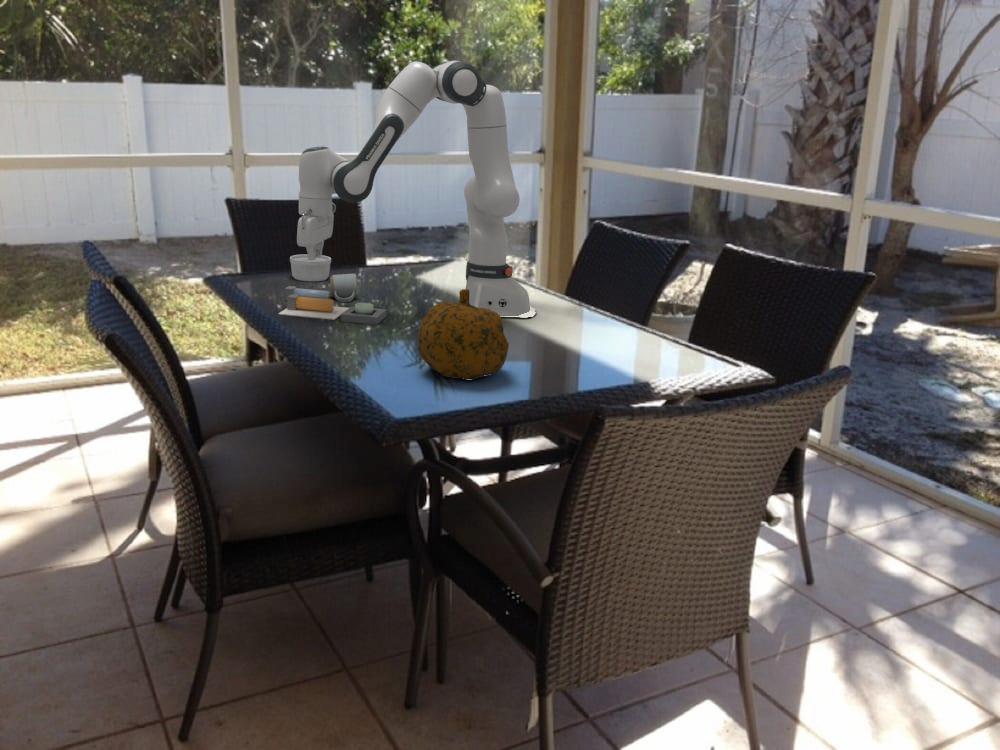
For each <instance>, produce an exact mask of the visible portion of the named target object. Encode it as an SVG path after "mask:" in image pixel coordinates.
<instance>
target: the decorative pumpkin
mask: <svg viewBox="0 0 1000 750" xmlns="http://www.w3.org/2000/svg"><path fill="white" fill-rule="evenodd" d="M458 294H459V302H439V303H436V304H435V305H433V306H432V307H431V308H430V310H429V311H428V312H427V314H426V315H425V316H424V317H423V319H422V321H421V323H420V327H419V331H418V340H417V341H418V342H417V343H418V345H417V349H418V352H419V354H420V357H421V358H422V360H423V361H424V362H425V364H426V365H428V366H429V368H432V369H433V370H434V371H436V372H438V373H440V375H442V376H443V377H447V378H449V377H457V378H456V379H461V378H464V379H474V380H476V379H478V378H482V377H481V376H484V375H489V374H492V375H494V374H496V373H498V372H499V371H500V370H501V369H502V368H503V366H504V365H505V363H506V360H507V356H508V352H509V351H508V350H509V345H510V343H509V342H508V339H507V337H506V335H505V333H504V325H503V320H502V318H501V317H500V315H499V314H498V313H497V312H494V311H491V310H489V309H486V308H478V307H475V306H472V305H470V303H469V295H470V294H469V290H468V289H465V288H463V289H461V290H459V293H458ZM475 378H476V379H475ZM464 379H463V380H464Z"/></svg>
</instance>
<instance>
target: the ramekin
mask: <svg viewBox="0 0 1000 750" xmlns="http://www.w3.org/2000/svg"><path fill="white" fill-rule="evenodd" d="M289 262H290V268H291V275H292V277H293V278H294V279H295V280H296V281H301V282H323V281H327V279H328V278H329V276H330V270H331V263H332V258H331V257H330V256H327V255H324V254H322V256H321V257H316V259H315V260H308V253H307V254H295V255H291V256H290V257H289Z"/></svg>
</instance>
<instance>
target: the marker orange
mask: <svg viewBox="0 0 1000 750" xmlns="http://www.w3.org/2000/svg"><path fill="white" fill-rule="evenodd" d="M334 306H335V302H334V299H319V298H308V297H300V295H294V294H291V295H290V296H288V297H287V305H286V307H287V308H286V309H287V310H297V309H302V310H313V311H324V312H333V310H334Z"/></svg>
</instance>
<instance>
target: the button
mask: <svg viewBox="0 0 1000 750" xmlns="http://www.w3.org/2000/svg"><path fill="white" fill-rule="evenodd" d="M354 307H355V313H356V314H364V315H369V314H373V308H374V304H373V303H370V302H357V303H355V304H354Z"/></svg>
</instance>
